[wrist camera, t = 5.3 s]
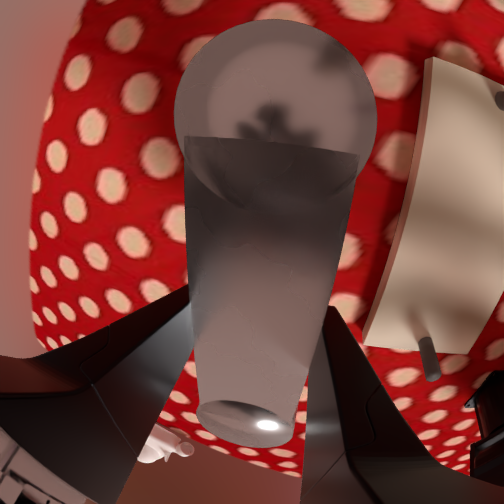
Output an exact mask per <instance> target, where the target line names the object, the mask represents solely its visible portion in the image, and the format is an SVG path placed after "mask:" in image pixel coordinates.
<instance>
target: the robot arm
mask: <svg viewBox="0 0 504 504" xmlns="http://www.w3.org/2000/svg"><path fill="white" fill-rule="evenodd" d="M193 347H194V338H193V327H192V315H191V303H190V300H189V286H188V284H187V285H185V286H183V287H181V288H179V289H177V290H175V291H173V292H171V293H170V294H168V295H166V296H164V297H162V298H160V299H158V300H156V301H154V302H152V303H150V304H148V305H146V306H144V307H142V308H140V309H138V310H137V311H135V312H133V313H131V314H129V315H127V316H125V317H123V318H121V319H119V320H117V321H115V322H113V323H111V324H110V325H109V326H108V325H107V326H105V327H103V328H101V329H99V330H98V331H95V332H93V333H91V334H89V335H87V336H85V337H83V338H81V339H78V340H76V341H74V342H71V343H69V344H66V345H64V346H61V347H59V348H56V349H54V350H51V351H49V352H46V353H44V354H41V355H39V356H36V357H33V358H26V359H22V358H21V359H20V358H13V357H8V356H2V355H0V504H84V503H85V501H86V499H87V498H88V499H89V500H91V501H93V502H95V503H97V504H116V502H117V500H118V498H119V496H120V494H121V491H122V489H123V487H124V485H125V483H126V481H127V479H128V477H129V475H130V473H131V471H132V469H133V467H134V465H135V463H136V461H137V459H138V457H139V455H140V453H141V451H142V449H143V447H144V445H145V443H146V441H147V439H148V437H149V435H150V433H151V431H152V429H153V427H154V425H155V423H156V421H157V419H158V417H159V415H160V413H161V411H162V409H163V407H164V405H165V403H166V401H167V399H168V397H169V395H170V393H171V391H172V389H173V387H174V385H175V383H176V381H177V380H178V378H179V376H180V374H181V372H182V370H183V368H184V366H185V364H186V362H187V360H188V358H189V356H190V354H191V352H192V350H193ZM493 374H494V375H493ZM464 406H465V408H475V412H476V416H477V420H478V425H479V429H480V434H481V440H479V441H478V442H476V443H475V442H474V443H473V444H471V445H470V448H471V451H470V476H468V475H465V474H463V473H460V472H458V471H455V470H453V469H450V468H448V467H445V466H444V465H442V464H440V463H439V462H438V461H437V460H436V459H435V458H434V457H433V456H432V455H431V454H430V453H429V452H428V450H427V449H426V448H425V446H424V445H423V443H422V442H421V441H420V439H419V438H418V437H417V435H416V434H415V433H414V431H413V430H412V429H411V427H410V426H409V424H408V423H407V422H406V420H405V419H404V417H403V416H402V415H401V413H400V412H399V410H398V409H397V407H396V406H395V404H394V403H393V401H392V399H391V398H390V396H389V395H388V393H387V391H386V389H385V388H384V386H383V385H381V381H380V379H379V378H378V376H377V374H376V373H375V371H374V369H373V367H372V366H371V364H370V362H369V361H368V359H367V357H366V356H365V354H364V352H363V351H362V349H361V347H360V346H359V344H358V343H357V341H356V339H355V338H354V336H353V334H352V333H351V331H350V329H349V328H348V326H347V325H346V323H345V321H344V320H343V318H342V317H341V315H340V313H339V312H338V310H337V309H336V307H335V306H330V305H328V307H327V311H326V315H325V318H324V322H323V326H322V328H321V332H320V335H319V339H318V342H317V345H316V349H315V352H314V355H313V358H312V362H311V365H310V368H309V376H308V398H307V419H306V436H305V450H304V463H303V475H302V486H301V496H300V500H301V501H300V504H504V370H500V371H493V372H491V373H490V375H489V376H488V377H487V378H486V380H485V381H484V382H483V383H482V385H481V386H480V387H479V388H478V390H477V391H476V392H475V393H474V394H473V396H472V397H471V398H470V399H469V400H468V401H467V403H466V404H465V405H464Z"/></svg>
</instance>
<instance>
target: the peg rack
mask: <svg viewBox="0 0 504 504" xmlns="http://www.w3.org/2000/svg"><path fill="white" fill-rule="evenodd" d="M503 291H504V86H503V85H501V84H499V83H497V82H495V81H493V80H491V79H488V78H486V77H484V76H482V75H480V74H477V73H475V72H473V71H470V70H468V69H465V68H463V67H460V66H458V65H455V64H453V63H450V62H447V61H444V60H442V59H439V58H436V57H431V58H428V59H425V65H424V78H423V89H422V98H421V107H420V115H419V122H418V129H417V135H416V141H415V147H414V153H413V158H412V163H411V168H410V173H409V178H408V183H407V187H406V192H405V196H404V200H403V205H402V209H401V213H400V217H399V220H398V224H397V228H396V232H395V235H394V239H393V242H392V246H391V249H390V253H389V256H388V259H387V262H386V266H385V269H384V272H383V275H382V278H381V281H380V284H379V287H378V290H377V293H376V296H375V299H374V301H373V304H372V307H371V310H370V312H369V315H368V318H367V320H366V323H365V326H364V328H363V331H362V336H363V345H368V346H376V347H385V348H394V349H404V350H414V351H420V355H421V359H422V363H423V368H424V372H425V377H426V380H427V381H430V382H431V381H435V380H437V379H439V378H440V377H441V370H440V366H439V362H438V358H437V355H436V352H438V353H453V354H468V352H469V351H470V349H471V348H472V346H473V344H474V343H475V341H476V340H477V338H478V336H479V335H480V333H481V331H482V330H483V328H484V326H485V325H486V323H487V321H488V319H489V318H490V316H491V314H492V312H493V310H494V308H495V306H496V305H497V303H498V301H499V299H500V297H501V295H502V293H503Z"/></svg>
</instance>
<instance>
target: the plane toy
mask: <svg viewBox="0 0 504 504" xmlns="http://www.w3.org/2000/svg"><path fill="white" fill-rule="evenodd" d="M179 441H181V439H180V438H179V437H178V436H176V435H175V434H174V433H172V432H170V431H168V430H166V429H165V428H163V427H161V426H159V425H158V424H156V423H155V425H154V427H153V429H152V431H151V433H150V435H149V437H148V439H147V441H146V443H145V445H144V447H143V449H142V451H141V453H140V455H139V457H138V459H137V460H138V461H140V462H143V463H151V462H154V461H156V460H157V459H160V458H162V457H164V456H165V462H166V461H167V460H168V458H169V456H170V453H171V452H175V453H177V454H179V455H180V456H183V457H186V456H189V455H192V454H193V453H194V447H193V446H192V445H191V444H190V443H188V442H183V443H181V444H178V443H179Z"/></svg>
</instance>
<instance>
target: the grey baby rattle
mask: <svg viewBox="0 0 504 504" xmlns="http://www.w3.org/2000/svg"><path fill="white" fill-rule="evenodd" d="M174 125H175V131H176V136H177V140H178V143H179V146H180V149H181V151H182V153H183V156H184V192H185V228H186V252H187V270H188V286H189V300H190V303H191V315H192V327H193V338H194V355H195V365H196V373H197V382H198V390H199V398H200V404H199V406H198V408H197V411H196V416H197V419H198V420H199V422H200V423H201V425H202V426H203V427H204V428H206V429H207V430H208V431H209V432H211V433H212V434H214V435H216V436H218V437H219V438H222V439H224V440H226V441H229V442H232V443H235V444H238V445H243V446H248V447H257V448H268V447H275V446H279V445H282V444H285V443H286V442H288V441H289V440H290V439H291V438H292V436H293V431H294V425H295V419H296V413H297V407H298V402H299V399H300V396H301V393H302V390H303V387H304V384H305V381H306V378H307V375H308V372H309V368H310V365H311V362H312V358H313V355H314V352H315V349H316V345H317V342H318V339H319V335H320V332H321V328H322V326H323V322H324V318H325V315H326V311H327V307H328V304H329V300H330V296H331V292H332V288H333V284H334V280H335V276H336V272H337V268H338V264H339V260H340V255H341V251H342V247H343V242H344V238H345V233H346V228H347V223H348V218H349V213H350V208H351V203H352V198H353V193H354V187H355V181H356V178H357V176H358V175H359V173H360V172H361V171H362V169H363V168H364V166H365V164H366V162H367V160H368V158H369V156H370V153H371V151H372V148H373V145H374V141H375V136H376V129H377V110H376V102H375V98H374V93H373V90H372V87H371V85H370V82H369V80H368V78H367V76H366V74H365V72H364V70H363V68H362V67H361V65H360V64H359V63H358V61H357V60H356V59H355V57H354V56H353V55H352V54H351V53H350V52H349V51H348V50H347V49H346V48H345V47H344V46H343V45H342V44H341V43H339V42H338V41H337V40H335V39H334V38H333V37H331V36H330V35H328V34H326V33H324V32H323V31H321V30H319V29H316V28H314V27H311V26H309V25H306V24H303V23H299V22H295V21H289V20H280V19H267V20H258V21H252V22H247V23H244V24H241V25H237V26H235V27H233V28H231V29H228V30H226V31H224V32H222V33H221V34H219V35H218V36H216V37H214V38H213V39H212V40H211V41H209V42H208V43H207V44H206V45H204V46H203V47H202V48H201V50H200V51H199V52H198V53H197V54H196V55H195V56H194V57H193V59H192V60H191V62H190V63H189V65H188V66H187V68H186V70H185V72H184V74H183V76H182V78H181V80H180V83H179V86H178V89H177V93H176V98H175V106H174Z"/></svg>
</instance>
